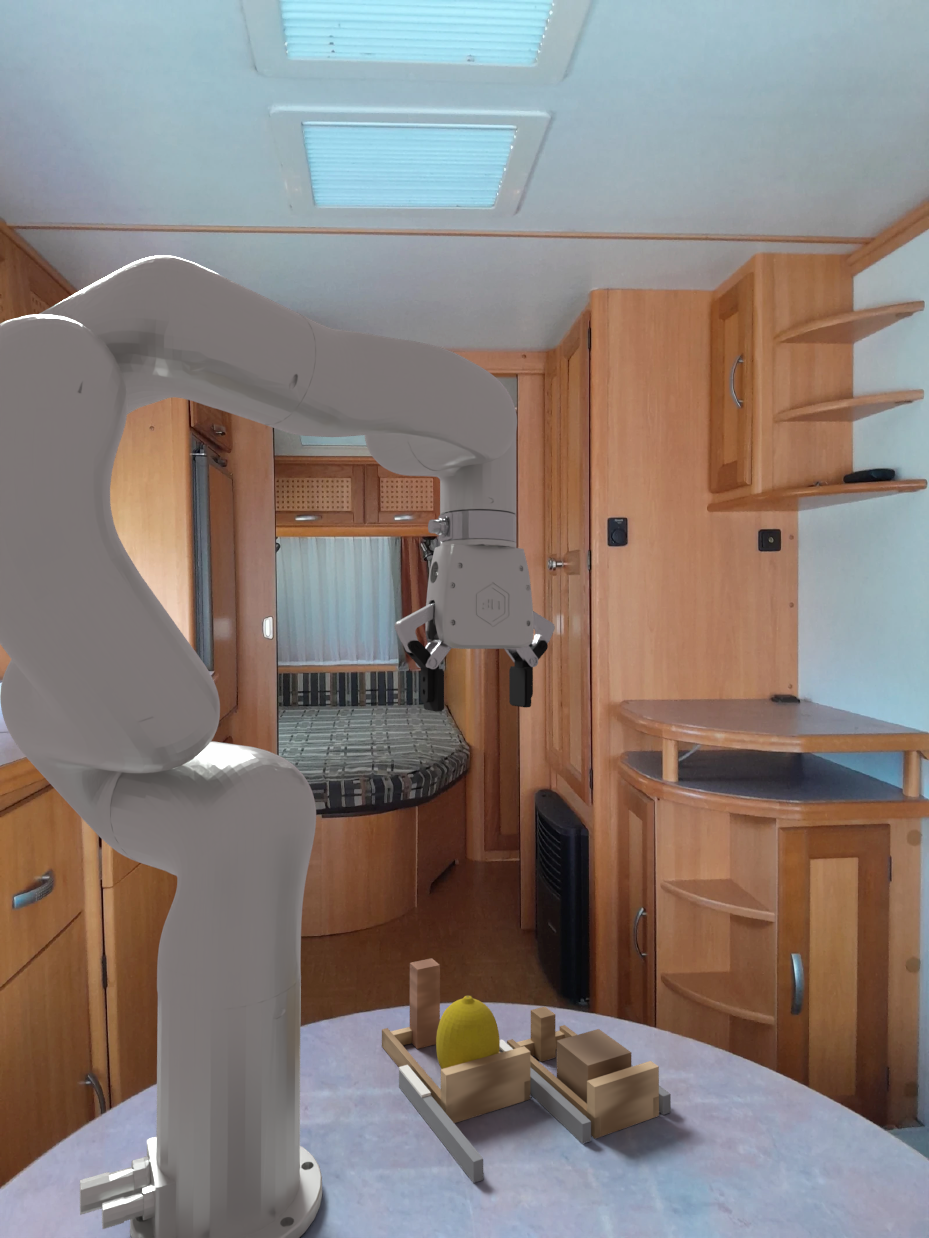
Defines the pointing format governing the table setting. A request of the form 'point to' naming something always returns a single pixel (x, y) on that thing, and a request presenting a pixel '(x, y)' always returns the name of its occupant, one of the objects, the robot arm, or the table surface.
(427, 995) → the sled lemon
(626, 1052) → the walnut cube
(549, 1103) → the lane rails
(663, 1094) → the rail right
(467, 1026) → the lemon
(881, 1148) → the table surface
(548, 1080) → the cube
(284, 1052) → the robot arm
